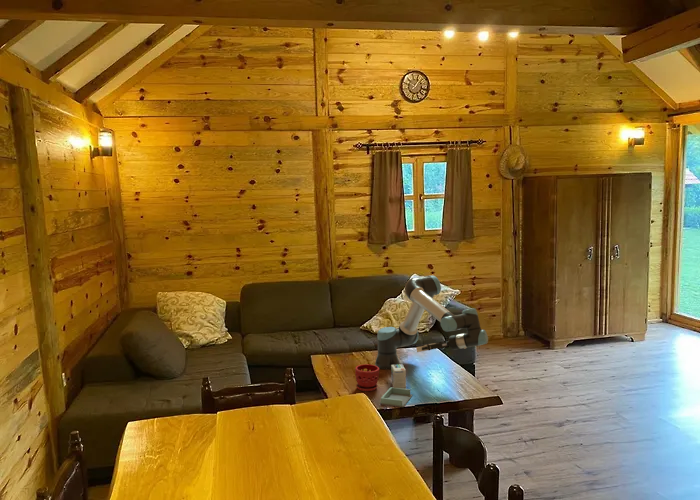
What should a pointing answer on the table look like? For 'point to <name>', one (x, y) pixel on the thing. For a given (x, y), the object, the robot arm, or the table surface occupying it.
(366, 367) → the plant pot
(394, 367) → the light bulb box
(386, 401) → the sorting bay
